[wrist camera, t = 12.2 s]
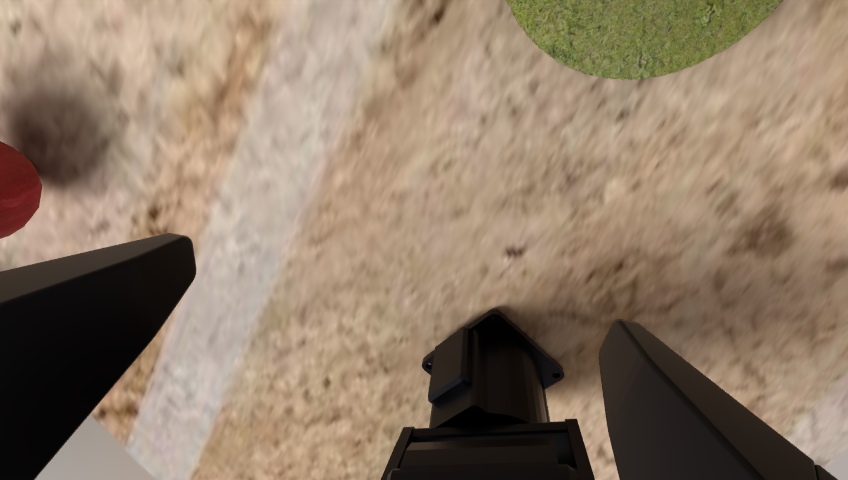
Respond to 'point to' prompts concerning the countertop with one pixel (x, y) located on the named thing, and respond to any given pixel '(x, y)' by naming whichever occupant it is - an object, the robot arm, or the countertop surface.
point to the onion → (17, 190)
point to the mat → (637, 32)
